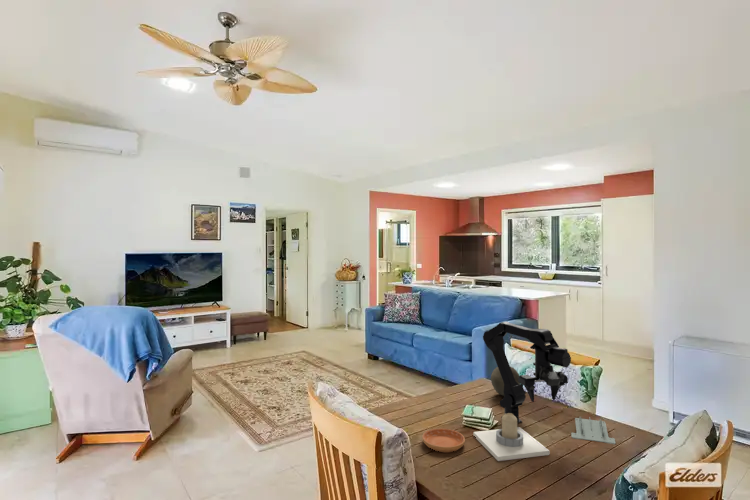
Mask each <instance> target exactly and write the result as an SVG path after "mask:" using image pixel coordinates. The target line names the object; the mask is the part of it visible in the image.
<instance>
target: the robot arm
mask: <svg viewBox="0 0 750 500" xmlns="http://www.w3.org/2000/svg"><path fill="white" fill-rule="evenodd" d="M507 334H511V335H512V336H517V337H520V338H524V339H526V340H528V341H529V343H532V345H531V346H529V348H530V349H532V350H534V362H532V364H533V366H534V371H535V372H533V374H532V375H533V376H531V375H529V374H524V375H523V374H519V377H518V382H519V383H520V384H518V383H517V382H516V381H515V379H514V376H513V373H512V371H511V368H510V367H511V365H510V363H509V360H508V358H507V354H506V353H505V350H504V344H505V341H504V340H505V339H504V337H505V336H506V335H507ZM482 340H483V342H484V344H485V345H486V347H487V348H488V349H489V350H490V351H491V352H492V355H493V357H494V360H495V363H496V366H497V367H498V369H499V371H500V374H501V377H502V380H503V382H504V391H503V392H504V396H503V398H501V400H500V401H499V405H500V407H502V408H503V409H504V410H503V411H504V415H505V414H507V413H512V414H513V415H514V416H515V417H516V418H517V424H518V423H522V422H523V420H522V419H521V418H520V412H519V411H520V410H519V409H520V408H519V407H520V406H522V405H523V404H524V402H525V400H526V394H527V393H528V396H529V398H530V401H531V402H532V403H534V402H535V389H536V386H535V385H536V383H541V382H545V383H546V385H547V386H548V387H550V393H551V400H552V401H555V400H556V398H557V395H558V392H559V390H560V389H561V388H562V387H563V386H565V384H568V382H569V378H568V375H566V374H565V373H564V372H563V371H562V370H561V371H555V370H554V367H553V365H554V366H557V367H562V368H569V366H570V365H571V363H572V356H571V355H570V352H568V348H561V347H560V346H559V344H558V343H557V341H556V339H555V338H554V336H553V334H552V332H551V330H550V329H546V328H530V327H526V326H522V325H519V324H516V323H511V322H509V321H502V322H501V321H500V322H499V323H498V324H496V325H495V326H494V327H492V328H491V329H489V330H487V331H485V332H484V333H483V335H482ZM525 389H526V391H525ZM526 392H527V393H526ZM504 415H503V416H504ZM500 418H501V419H502V416H501V417H500Z"/></svg>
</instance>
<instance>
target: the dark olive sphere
mask: <svg viewBox="0 0 750 500" xmlns="http://www.w3.org/2000/svg"><path fill="white" fill-rule="evenodd" d="M510 368H511V371H512V373H513V376H514V379H515V381H516V382H517V383H518V384H521V383H519V382H518V377H519V376H520V374H519V372H518V371H517V369H515V368H514V367H513V366H510ZM490 382H491V384H492V387H493V389H494V391H495V392H496V393H498V394H499V395H501V396H503V397H504V392H503V391H504V382H503V380H502V377H501V374H500V371H499V369H498V366H497V367H495V368H494V369H493V370H492V372H491V375H490Z"/></svg>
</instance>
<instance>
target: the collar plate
mask: <svg viewBox="0 0 750 500" xmlns="http://www.w3.org/2000/svg"><path fill="white" fill-rule="evenodd" d="M474 436H475V437H476V438H475V437H474ZM473 437H474V438H475V439H476V440H477V441H478V442H479V444H481V445H482V446H483V448H485V450H487V451H488V452H489V454H490V455H491V456H492V457H494V459H495V460H496V461H498V462H503V461H509V460H519V459H525V458H526V459H528V458H535V457H541V456H543V457H544V456H549V455H550V453H551V451H550V450H549V449H548V448H547V447H546V446H545V445H543V444H542V443H541V442H539V441H538V439H535V438H534V437H533V436H531V435H530V433H528V432H527V431H525V430H524V429H523V428H522V427H520V426H517V439H508V438H504V437H502V428H498V429H490V430H480V431H473Z"/></svg>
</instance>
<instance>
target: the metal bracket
mask: <svg viewBox="0 0 750 500" xmlns="http://www.w3.org/2000/svg"><path fill="white" fill-rule="evenodd" d="M574 421H575V429H576V432H571V433H570V434H571V435H570V436H571V439H575V440H585V441H592V442H598V443H605V444H610V445H616V438H614V437H609V434H608V427H607V424H606V421H603V420H602V419H599V420H597V419H596V420H594V419H591V417H590V416H589V417H588V419H586V418H582V417H581V416H579V417H574Z"/></svg>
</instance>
